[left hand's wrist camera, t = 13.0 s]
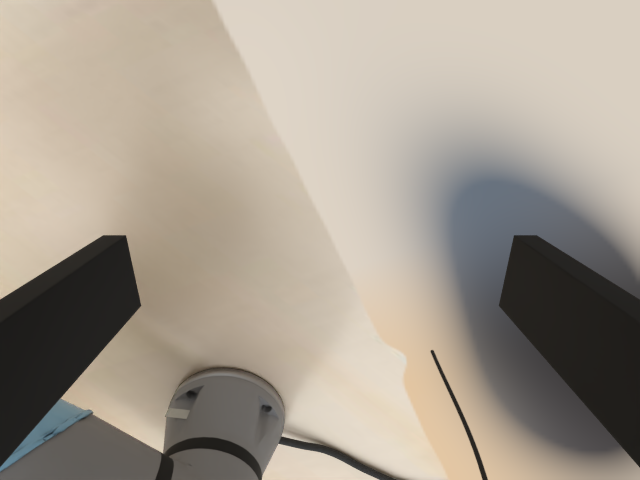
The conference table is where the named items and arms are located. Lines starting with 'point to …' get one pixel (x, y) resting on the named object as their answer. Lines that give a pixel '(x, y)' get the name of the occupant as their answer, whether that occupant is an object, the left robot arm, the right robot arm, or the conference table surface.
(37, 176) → the conference table surface
